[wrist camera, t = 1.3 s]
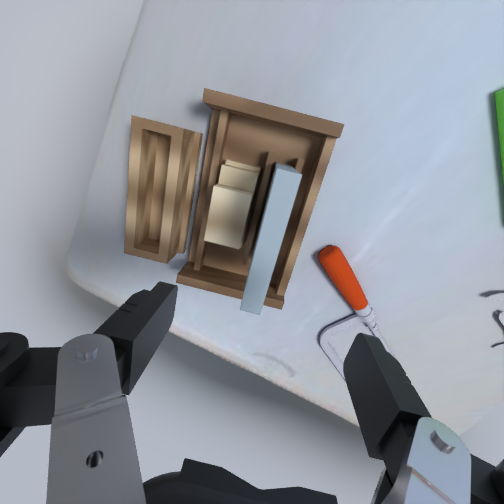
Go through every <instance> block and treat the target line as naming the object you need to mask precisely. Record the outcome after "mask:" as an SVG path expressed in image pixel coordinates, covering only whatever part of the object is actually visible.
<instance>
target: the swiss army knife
mask: <svg viewBox="0 0 504 504" xmlns="http://www.w3.org/2000/svg"><path fill="white" fill-rule="evenodd" d="M487 298H489V299H492V300H504V293H496V294H492V295H490V296H488V297H487ZM498 318H499V320H500V322H501V323H502V324H503V326H504V312H502V313H500V314H499V316H498ZM493 348H495V349H501V350H503V349H504V343H503V344H499V345H496V346H494V347H493Z"/></svg>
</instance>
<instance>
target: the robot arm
mask: <svg viewBox="0 0 504 504" xmlns="http://www.w3.org/2000/svg"><path fill="white" fill-rule="evenodd" d="M177 291H178V287H177V285H173V284H169V283H165V282H161V281H160V282H158V284H157V285H156V286H155V287H154V288H153V289H152V290H151V291H148V290H142V291H140V292H137V293H135V294H133V295H132V296H131V297H130V298H129V299H128V300H127V301H126V302H125V304H123V305H122V306H121V307H120V308H119V310H117V311H116V312H115V313H114V314H113V315H111V316H110V317H109V318H108V319H107V320H106V321H105V322H104V323H103V324H102V325H101V326H100V327H99V328H98V329H97V330H96V331H95V332H94V333H93V334H86V335H81V336H78V337H76V338H74V339H72V340H70V341H68V342H67V343H65V344H64V345H63V346H62V347H49V348H47V347H46V348H45V347H43V348H29V344H28V339H27V338H26V337H25V336H24V335H22V334H18V333H13V332H4V333H0V457H1V456H2V454H3V453H4V452H5V451H6V450H7V448H8V447H9V446H10V445H11V444H12V443H13V441H14V440H15V439H16V438H17V437H18V436H19V434H20V433H21V432H22V431H23V429H24V428H25V427H26V426H37V425H49V424H51V439H50V453H49V469H48V485H47V501H46V504H337V498H336V496H335V495H331V494H327V493H322V492H319V491H314V490H311V489H307V488H303V487H289V488H277V489H266V490H261V489H258V488H256V487H254V486H252V485H251V484H249V483H247V482H246V481H244V480H242V479H241V478H239V477H237V476H235V475H234V474H232V473H231V472H229V471H227V470H226V469H224V468H222V467H218V466H215V465H211V464H206V463H202V462H198V461H194V460H191V459H186V458H185V459H184V462H183V466H182V469H181V471H180V472H171V473H166V474H162V475H159V476H157V477H154V478H152V479H150V480H148V481H146V482H144V483H142V478H141V472H140V467H139V461H138V456H137V450H136V445H135V440H134V434H133V429H132V423H131V418H130V412H129V407H128V403H127V398H126V396H125V395H122V394H126V395H129V394H130V393H131V391H132V389H133V388H134V386H135V384H136V382H137V381H138V379H139V378H140V376H141V374H142V373H143V371H144V369H145V368H146V366H147V365H148V363H149V361H150V360H151V358H152V356H153V355H154V353H155V351H156V350H157V348H158V347H159V345H160V343H161V342H162V340H163V338H164V337H165V335H166V333H167V332H168V330H169V328H170V326H171V324H172V321H173V317H174V311H175V304H176V298H177ZM343 373H344V377H345V380H346V383H347V387H348V390H349V393H350V396H351V400H352V403H353V406H354V409H355V412H356V416H357V419H358V422H359V425H360V429H361V432H362V435H363V438H364V441H365V445H366V448H367V451H368V454H369V457H372V458H376V459H380V460H384V463H385V466H386V467H385V468H384V470H383V471H382V473H381V476H380V478H379V481H378V484H377V487H376V490H375V493H374V495H373V498H372V501H371V504H504V459H503V461H502V462H500V464H499V465H498V466H497V467H495V466H493V465H491V464H489V463H487V462H485V461H483V460H481V459H480V458H478V457H476V456H474V455H472V454H470V453H469V450H468V448H467V447H466V445H465V444H464V442H463V441H462V440H461V439H460V438H459V436H458V435H457V434H456V433H455V432H453V431H452V430H451V429H450V428H449V427H447V426H446V425H445V424H443V423H441V422H440V421H438V420H435V419H433V418H432V417H431V415H430V413H429V412H428V410H427V408H426V407H425V405H424V403H423V402H422V400H421V398H420V397H419V395H418V393H417V392H416V390H415V388H414V386H413V385H411V381H410V380H409V378H408V376H406V373H405V371H404V370H403V368H402V366H401V365H400V363H399V362H398V361H397V360H396V359H395V358H394V357H393V356H392V355H391V354H390V353H389V352H387V351H386V349H385V347H384V345H383V344H382V342H381V340H380V339H379V338H378V337H375V336H371V335H367V334H363V333H359V334H357V336H356V337H355V339H354V341H353V344H352V346H351V348H350V350H349V352H348V354H347V356H346V358H345V360H344V365H343Z"/></svg>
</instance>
